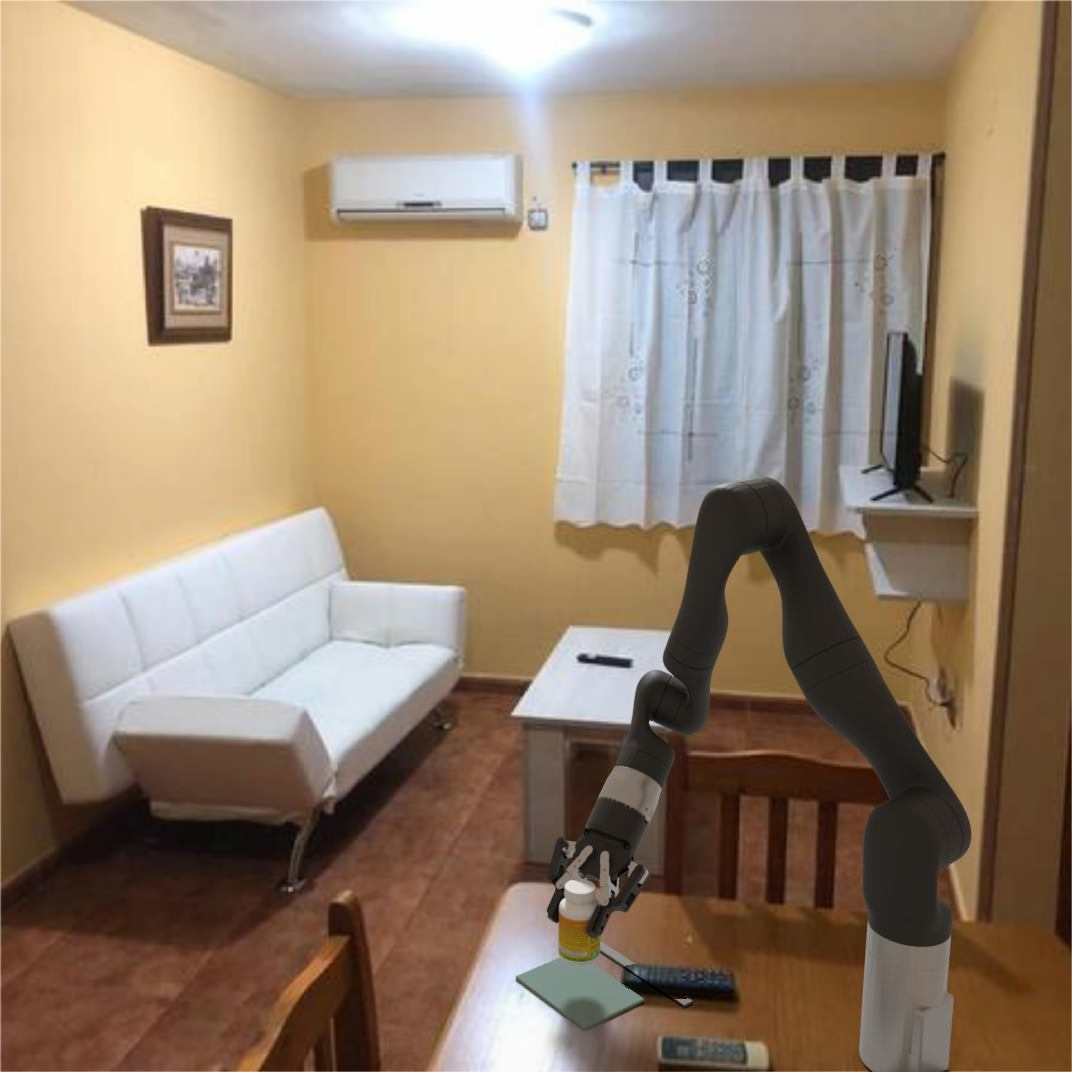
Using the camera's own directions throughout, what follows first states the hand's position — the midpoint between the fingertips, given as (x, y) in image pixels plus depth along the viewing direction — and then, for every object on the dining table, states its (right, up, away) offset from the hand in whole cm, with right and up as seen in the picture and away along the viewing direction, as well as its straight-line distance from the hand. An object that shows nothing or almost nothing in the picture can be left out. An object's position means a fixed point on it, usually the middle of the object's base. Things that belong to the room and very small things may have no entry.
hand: (571, 927), depth 148 cm
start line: (+8, -8, +9) cm, 14 cm away
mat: (+1, -9, +3) cm, 10 cm away
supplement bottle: (+1, -5, +2) cm, 5 cm away
